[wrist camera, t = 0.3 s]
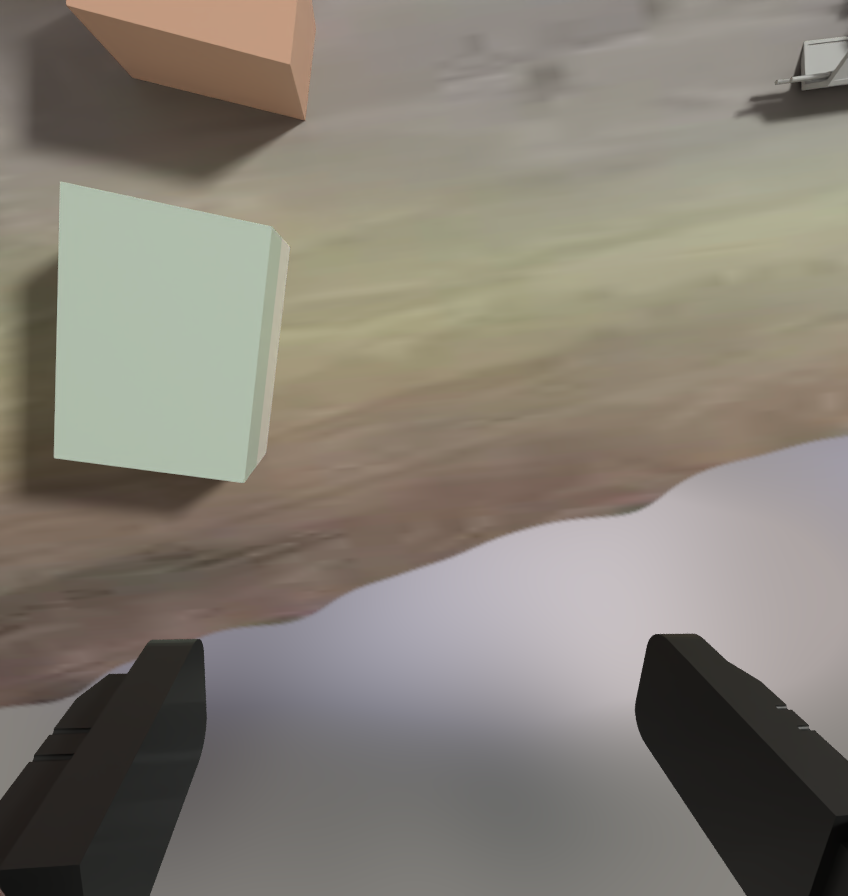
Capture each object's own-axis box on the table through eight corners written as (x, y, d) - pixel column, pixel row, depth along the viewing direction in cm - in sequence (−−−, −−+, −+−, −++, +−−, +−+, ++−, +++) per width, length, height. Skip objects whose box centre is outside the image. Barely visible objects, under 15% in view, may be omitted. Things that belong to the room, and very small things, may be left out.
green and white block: (125, 212, 31) (60, 181, 24) (290, 247, 33) (271, 226, 26) (114, 431, 34) (53, 458, 27) (266, 453, 36) (244, 482, 29)
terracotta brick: (138, -20, 28) (69, -128, 22) (315, 29, 30) (303, -56, 23) (133, 78, 29) (66, 4, 23) (305, 121, 31) (290, 64, 24)
